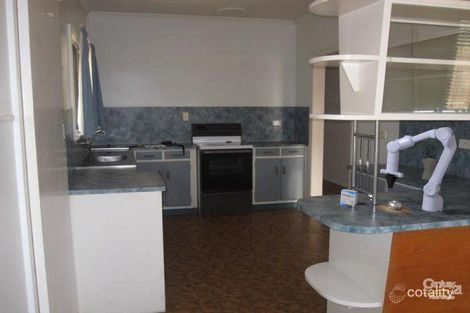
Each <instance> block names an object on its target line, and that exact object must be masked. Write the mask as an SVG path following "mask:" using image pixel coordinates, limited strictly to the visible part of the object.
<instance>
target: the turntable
mask: <svg viewBox="0 0 470 313" xmlns="http://www.w3.org/2000/svg"><path fill="white" fill-rule="evenodd" d="M388 205H389V203H380V204H377V205H375V208H376V209H379V210H380V211H384V212H387V213H394V214H411V213H414V210H413V208H410V207H407V206H405V205H401V210H392V209H389V208H388Z"/></svg>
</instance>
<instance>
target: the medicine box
mask: <svg viewBox="0 0 470 313" xmlns="http://www.w3.org/2000/svg"><path fill="white" fill-rule="evenodd" d="M358 199H359V190H354V189H353V190H352V189H346V188H344V189H341V192H340V203H339V206H340V207H345V208H351V209H354V207H355V206H357V205H358Z"/></svg>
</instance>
